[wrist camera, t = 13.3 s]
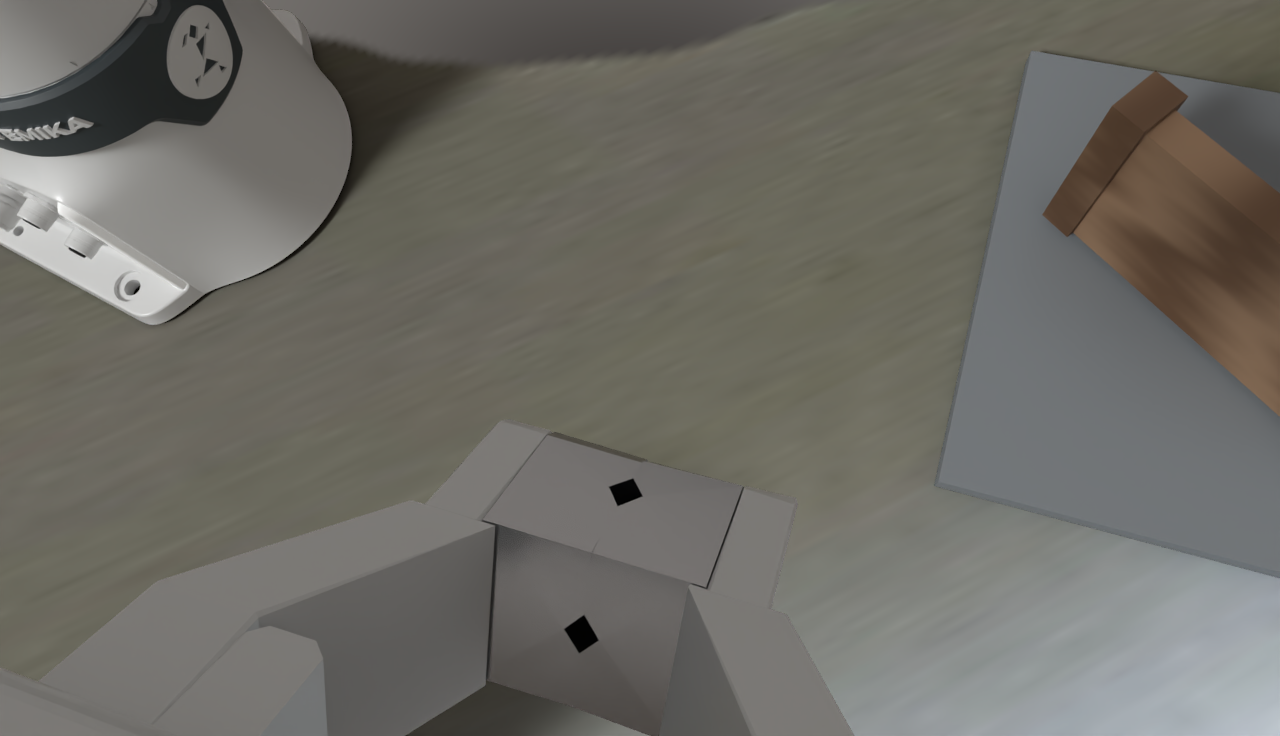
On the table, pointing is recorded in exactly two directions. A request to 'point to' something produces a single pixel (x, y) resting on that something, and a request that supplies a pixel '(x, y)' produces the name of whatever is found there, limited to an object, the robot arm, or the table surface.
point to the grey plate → (1108, 350)
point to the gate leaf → (1183, 229)
